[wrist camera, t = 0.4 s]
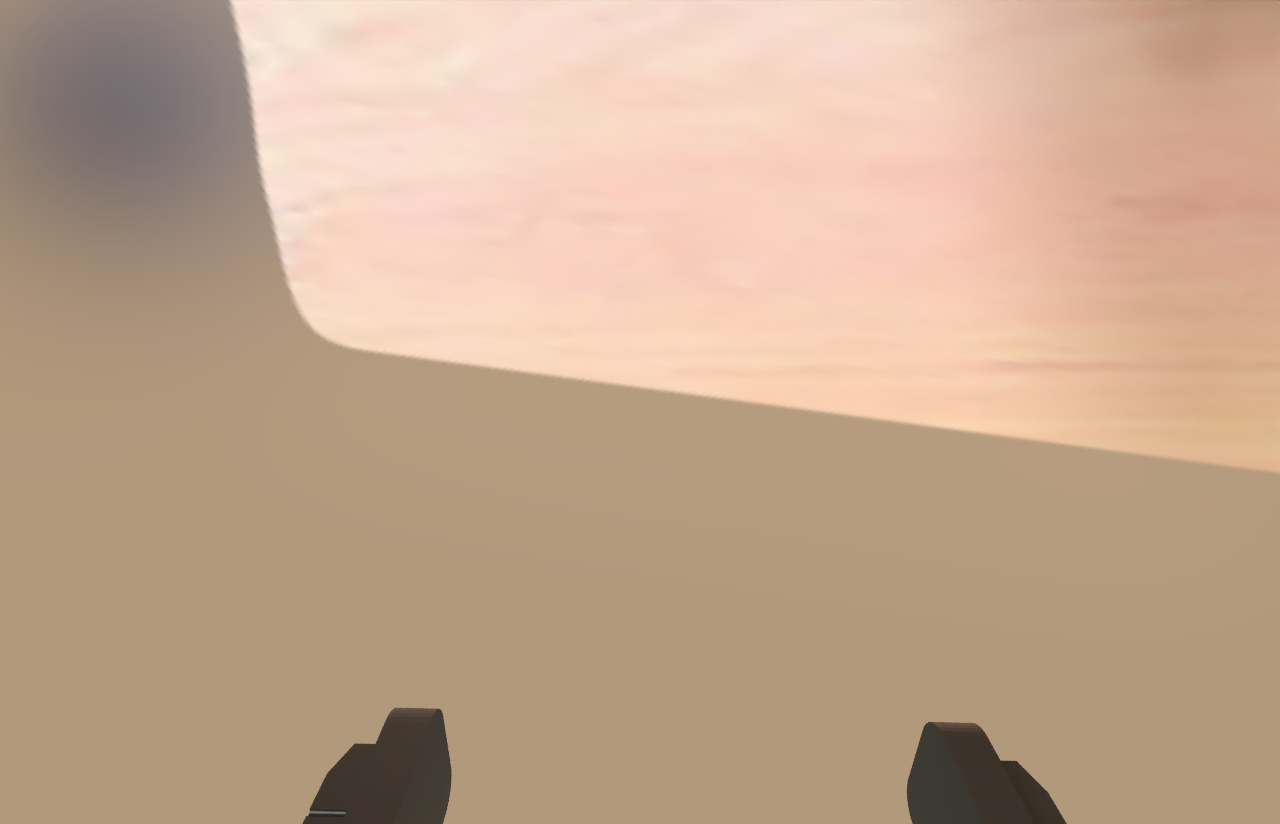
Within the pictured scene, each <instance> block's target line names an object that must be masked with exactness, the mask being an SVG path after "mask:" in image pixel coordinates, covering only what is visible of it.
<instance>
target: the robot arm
mask: <svg viewBox="0 0 1280 824" xmlns="http://www.w3.org/2000/svg"><path fill="white" fill-rule="evenodd" d="M450 788H451V765H450V758H449V752H448V744H447V738H446V732H445V725H444V720H443V713H442V711H441V710H440V709H424V708H394V709H393V710H392V711H391V712H390V714H389V715H388V717H387V719H386V721H385V724H384V726H383V728H382V730H381V733H380V735H379V737H378V740H377V742H376V744H354V745H353V746H352V747H351V748H350V749H349V751H348V752H347V753H346V754H345V755H344V756H343V757H342V758H341V759H340V760H339V761H338V762H337V764H336V765H335V766H334V767H333V768H332V769H331V770H330V771H329V772H328V773H327V775H326V777H325V779H324V781H323V783H322V785H321V787H320V789H319V791H318V793H317V795H316V797H315V799H314V801H313V804H312V806H311V808H310V813H309V815H308V816H306V818H305V820H304V822H303V824H443V821H444V818H445V814H446V810H447V806H448V802H449V796H450ZM907 799H908V807H909V812H910V816H911V820H912V823H913V824H1066V822H1065V820H1064V819H1063V817H1062V815H1061V814H1060V812H1059V810H1058V809H1057V807H1056V805H1055V804H1054V802H1053V800H1052V799H1051V797H1050V796H1049V794H1048V792H1047V791H1046V790H1045V789H1044V788H1043V787H1042V786H1041V785H1040V784H1039V783H1038V782H1037V781H1036V780H1035V779H1034V778H1033V777H1032V776H1031V775H1030V774H1029V773H1028V772H1027V771H1026V770H1025V769H1024V768H1023V767H1022V766H1021V765H1020V764H1019V763H1018V762H1017V761H1000V759H999V757H998V755H997V753H996V752H995V750H994V748H993V746H992V745H991V743H990V741H989V739H988V737H987V736H986V734H985V732H984V731H983V730H982V728H981V727H979V726H978V725H977V724H974V723H946V722H928V723H927V724H926V725H925V726H924V729H923V732H922V735H921V738H920V742H919V745H918V749H917V752H916V755H915V759H914V762H913V765H912V768H911V772H910V775H909V779H908V784H907Z"/></svg>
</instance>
